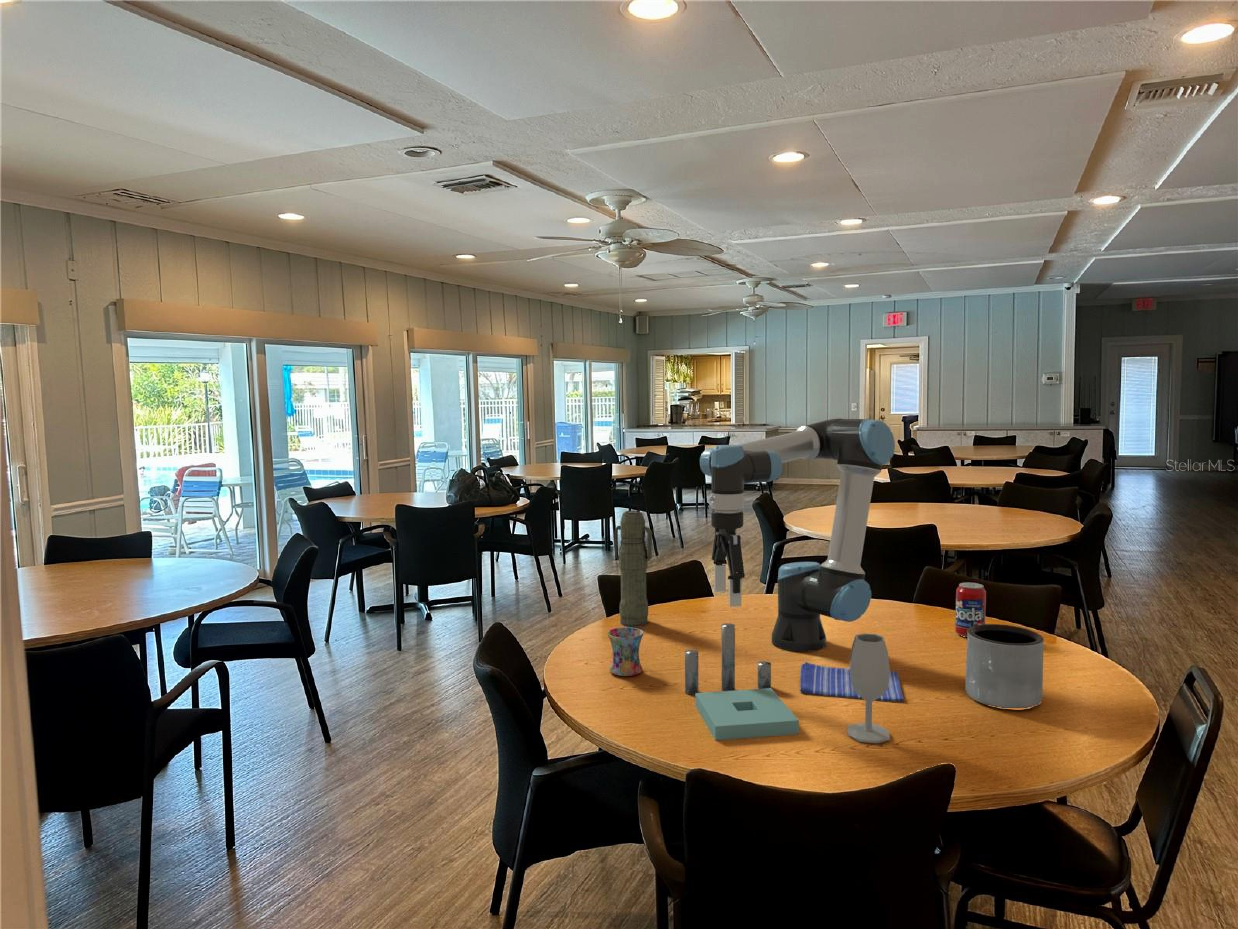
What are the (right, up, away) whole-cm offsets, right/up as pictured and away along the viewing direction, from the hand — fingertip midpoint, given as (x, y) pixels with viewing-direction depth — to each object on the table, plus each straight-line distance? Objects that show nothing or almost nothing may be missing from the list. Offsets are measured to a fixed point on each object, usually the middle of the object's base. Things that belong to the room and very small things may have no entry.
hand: (727, 598), depth 187 cm
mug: (-24, -22, +16) cm, 36 cm away
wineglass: (+26, -25, -24) cm, 43 cm away
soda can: (+76, -18, +40) cm, 88 cm away
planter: (+63, -23, -6) cm, 67 cm away
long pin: (+1, -22, +2) cm, 23 cm away
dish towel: (+31, -23, +4) cm, 38 cm away
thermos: (-21, -18, +57) cm, 64 cm away
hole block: (+2, -24, -15) cm, 28 cm away
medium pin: (-8, -23, +1) cm, 24 cm away
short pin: (+9, -22, +3) cm, 24 cm away
